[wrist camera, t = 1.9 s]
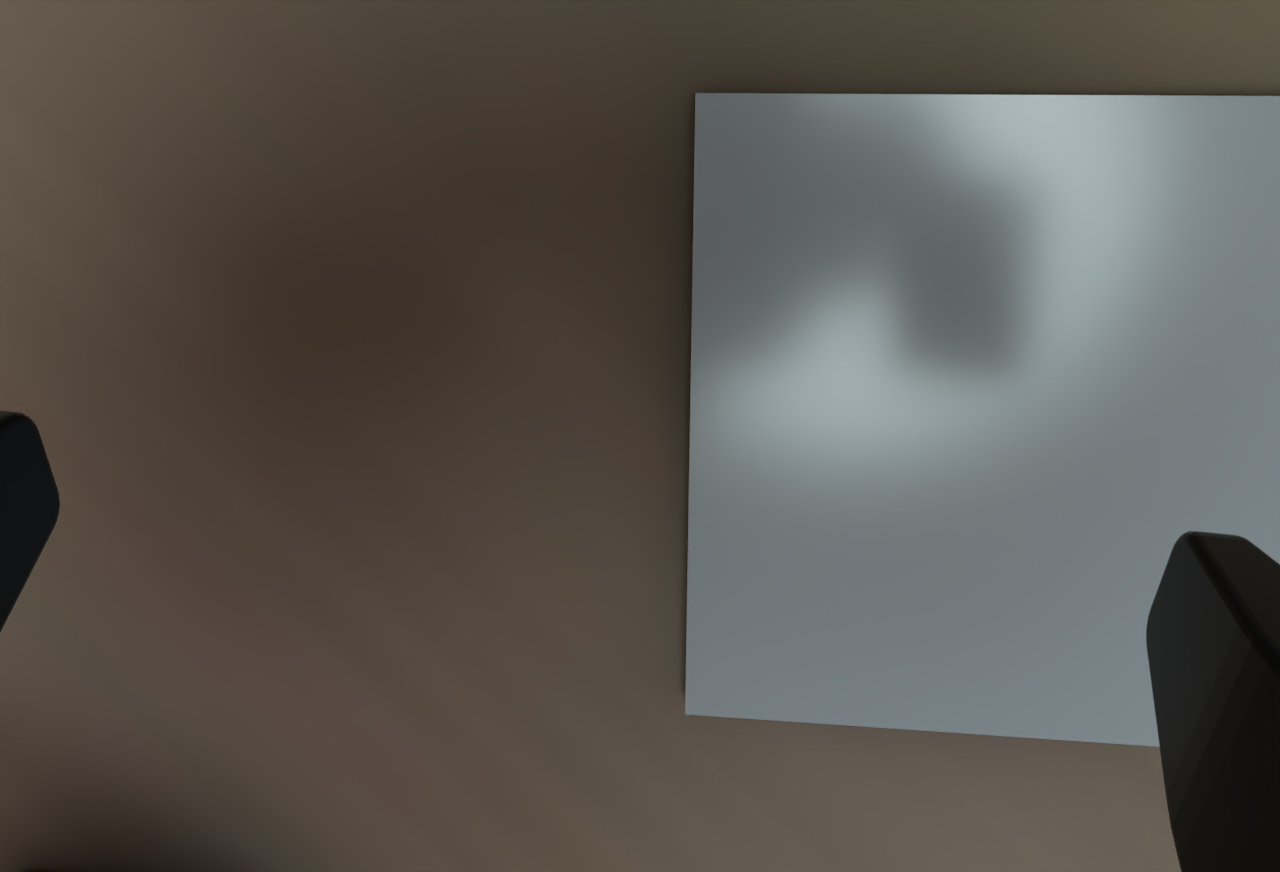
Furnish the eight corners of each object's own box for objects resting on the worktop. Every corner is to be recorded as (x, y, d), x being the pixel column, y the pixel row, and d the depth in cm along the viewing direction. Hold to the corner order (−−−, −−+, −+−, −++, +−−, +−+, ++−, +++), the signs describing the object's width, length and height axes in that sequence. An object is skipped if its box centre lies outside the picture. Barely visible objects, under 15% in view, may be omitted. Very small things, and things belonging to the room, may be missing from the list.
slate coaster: (687, 698, 22) (684, 714, 21) (698, 92, 19) (695, 92, 18) (1302, 738, 21) (1316, 757, 20) (1429, 96, 17) (1452, 97, 17)
